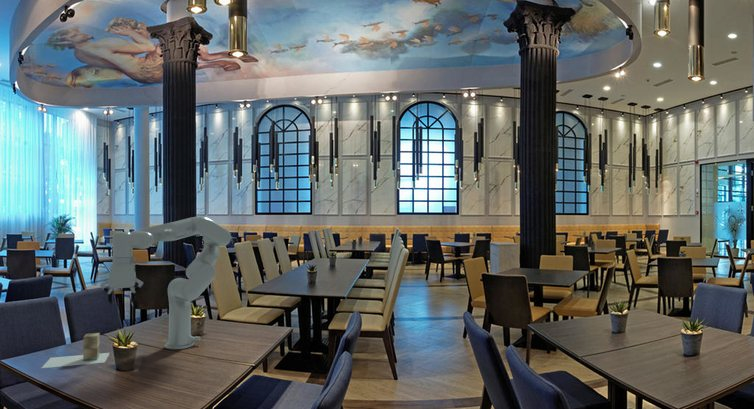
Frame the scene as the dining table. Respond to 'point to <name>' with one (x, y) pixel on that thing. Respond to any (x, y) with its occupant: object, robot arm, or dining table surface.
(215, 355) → the dining table surface
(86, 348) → the oak block
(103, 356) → the grey mat
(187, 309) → the robot arm
